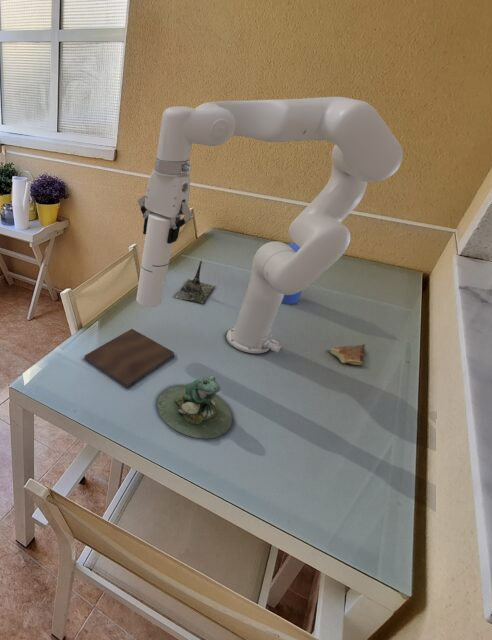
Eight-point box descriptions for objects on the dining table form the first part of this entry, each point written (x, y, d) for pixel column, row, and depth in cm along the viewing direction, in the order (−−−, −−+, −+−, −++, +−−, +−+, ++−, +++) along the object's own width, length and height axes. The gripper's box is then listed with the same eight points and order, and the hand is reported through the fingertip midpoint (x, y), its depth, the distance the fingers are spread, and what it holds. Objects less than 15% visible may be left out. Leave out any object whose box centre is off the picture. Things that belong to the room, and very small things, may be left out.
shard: (362, 348, 125) (364, 343, 124) (381, 364, 119) (384, 359, 118) (328, 351, 124) (331, 346, 123) (346, 367, 118) (349, 362, 117)
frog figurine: (188, 448, 95) (199, 413, 88) (143, 397, 109) (149, 363, 102) (247, 424, 101) (262, 389, 94) (197, 379, 114) (207, 345, 107)
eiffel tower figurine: (203, 305, 146) (212, 270, 138) (174, 297, 150) (181, 263, 142) (214, 287, 156) (223, 254, 148) (187, 280, 160) (194, 247, 152)
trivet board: (173, 356, 123) (174, 352, 122) (126, 388, 112) (127, 384, 111) (131, 332, 132) (131, 328, 132) (84, 359, 121) (84, 355, 121)
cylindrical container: (161, 308, 117) (178, 221, 102) (135, 305, 118) (148, 219, 103) (161, 295, 123) (177, 211, 108) (136, 293, 124) (149, 210, 109)
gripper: (212, 171, 95) (196, 244, 105) (152, 157, 106) (142, 224, 116) (193, 177, 91) (178, 252, 102) (132, 162, 102) (124, 231, 113)
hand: (159, 237), depth 109 cm, fingers closed on cylindrical container, 7 cm apart
